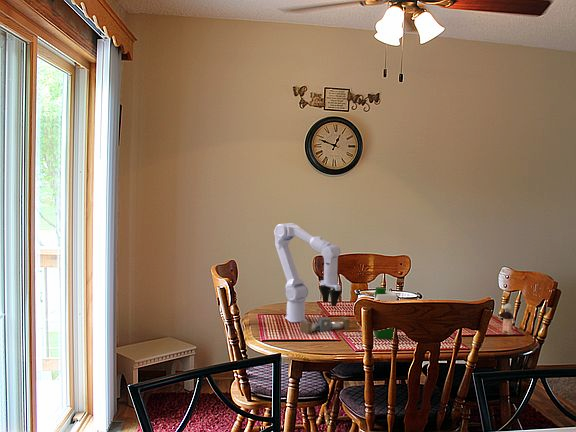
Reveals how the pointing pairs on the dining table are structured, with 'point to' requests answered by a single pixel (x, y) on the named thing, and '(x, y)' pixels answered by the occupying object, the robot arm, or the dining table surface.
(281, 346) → the dining table surface
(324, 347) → the dining table surface
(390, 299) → the milk carton
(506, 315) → the grandmother figurine
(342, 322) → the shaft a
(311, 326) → the brown lumpy block
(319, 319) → the coupler
